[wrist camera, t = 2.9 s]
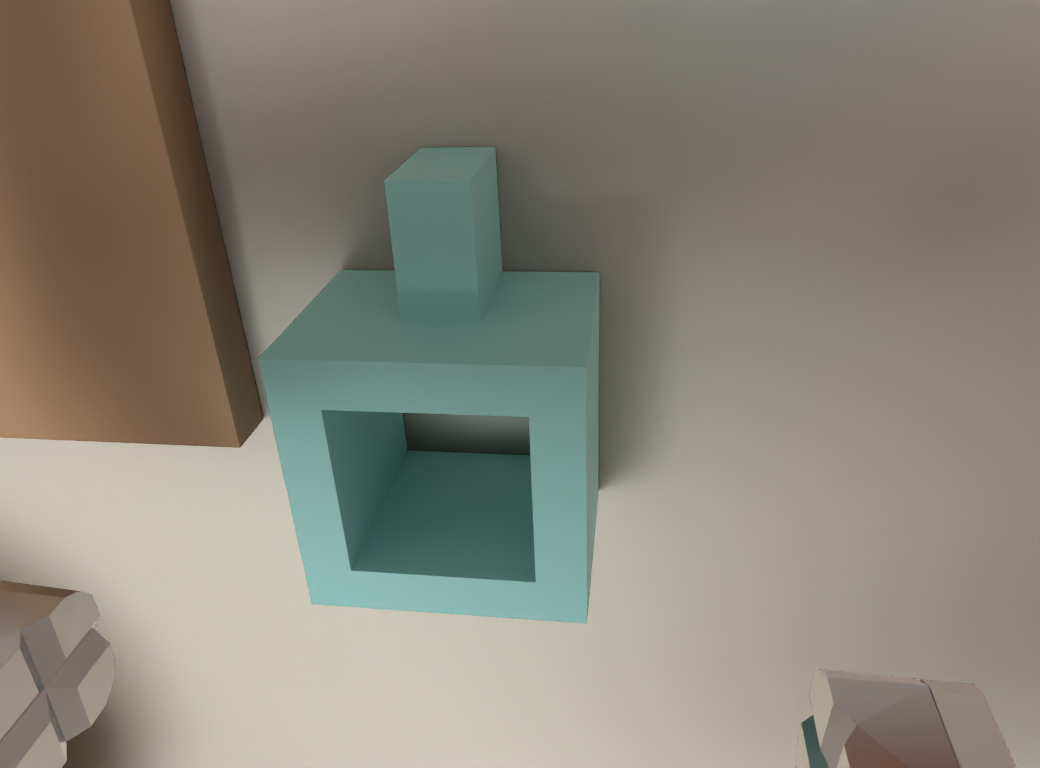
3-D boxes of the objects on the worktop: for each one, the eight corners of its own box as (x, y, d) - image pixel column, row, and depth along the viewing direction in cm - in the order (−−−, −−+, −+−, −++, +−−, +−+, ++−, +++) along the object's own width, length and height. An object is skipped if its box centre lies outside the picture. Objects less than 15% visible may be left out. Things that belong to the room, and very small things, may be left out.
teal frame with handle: (598, 491, 18) (586, 623, 14) (374, 481, 19) (311, 604, 15) (600, 145, 14) (585, 210, 11) (321, 149, 15) (224, 210, 12)
